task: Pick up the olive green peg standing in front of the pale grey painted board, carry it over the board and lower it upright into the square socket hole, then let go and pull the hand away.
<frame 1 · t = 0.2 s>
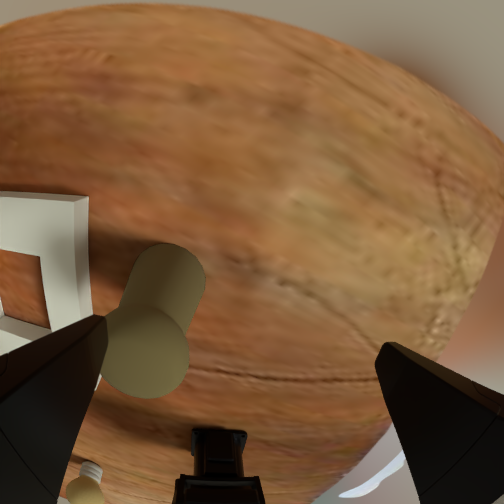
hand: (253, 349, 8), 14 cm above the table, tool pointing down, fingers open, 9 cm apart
olive green peg: (168, 279, 22), on the table
socket board: (24, 285, 21), on the table
light bulb: (93, 464, 32), on the table
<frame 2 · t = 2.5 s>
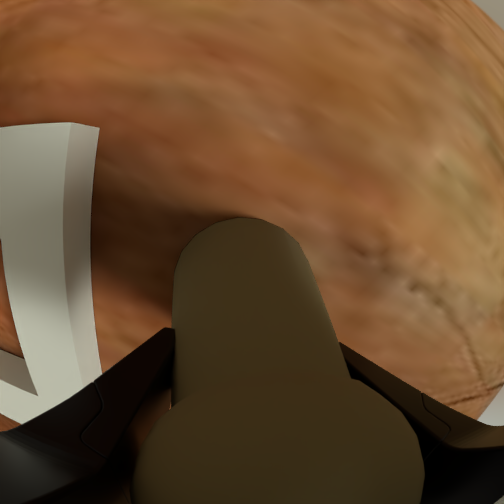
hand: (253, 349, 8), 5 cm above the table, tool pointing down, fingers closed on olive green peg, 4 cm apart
olive green peg: (242, 284, 13), on the table, touching gripper
when the fingers open (5 cm above the table, at t = 8.4 s): olive green peg stays where it is, resting in socket board.
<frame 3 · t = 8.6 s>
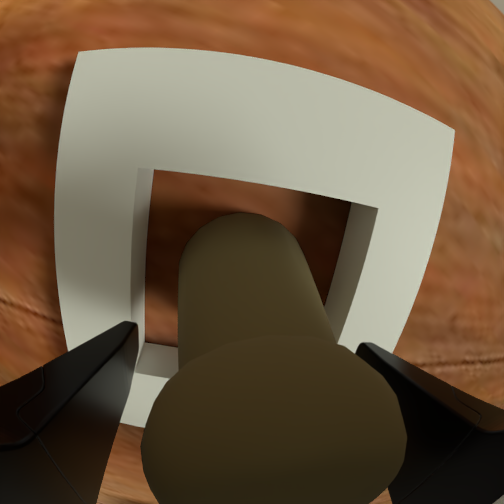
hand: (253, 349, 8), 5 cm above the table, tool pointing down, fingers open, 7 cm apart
olive green peg: (242, 275, 14), resting in socket board
socket board: (241, 277, 13), on the table
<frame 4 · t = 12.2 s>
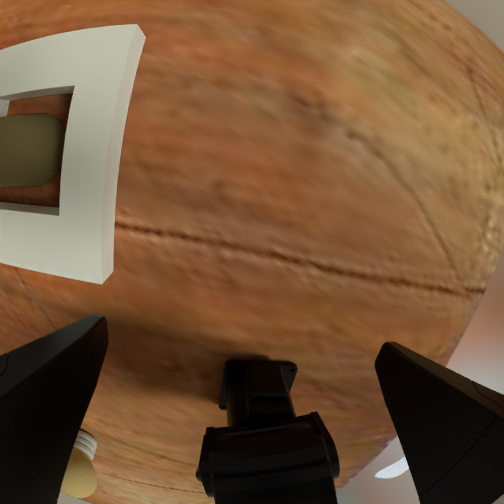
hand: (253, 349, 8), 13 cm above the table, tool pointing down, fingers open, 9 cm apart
olive green peg: (38, 149, 17), resting in socket board
socket board: (36, 149, 17), on the table
light bulb: (86, 435, 27), on the table
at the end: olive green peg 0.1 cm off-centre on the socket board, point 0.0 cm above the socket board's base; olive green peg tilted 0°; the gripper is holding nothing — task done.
